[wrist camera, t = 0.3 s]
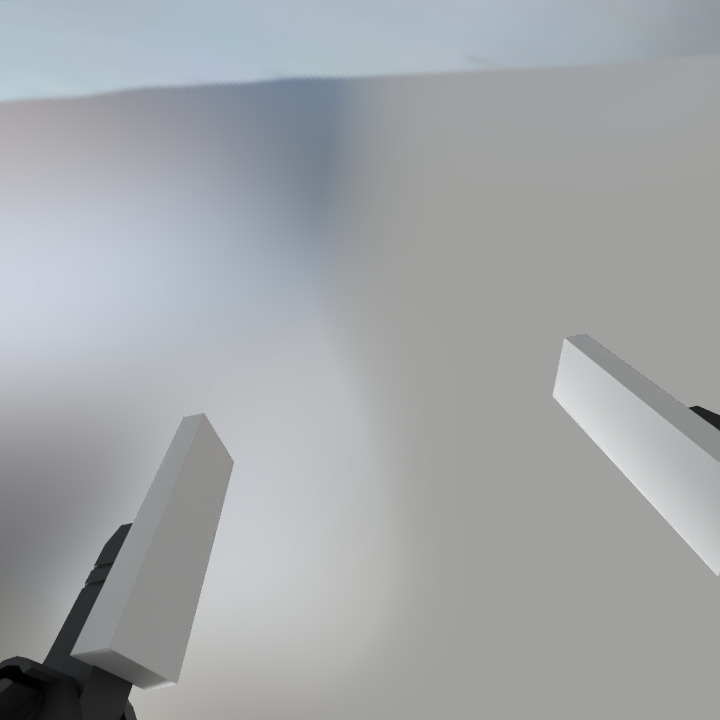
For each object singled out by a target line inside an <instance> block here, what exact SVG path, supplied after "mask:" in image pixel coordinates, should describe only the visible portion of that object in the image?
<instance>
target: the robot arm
mask: <svg viewBox="0 0 720 720" xmlns="http://www.w3.org/2000/svg"><path fill="white" fill-rule="evenodd" d="M553 397H554V398H555V399H556V400H557V401H558V402H559V403H560V404H561V406H562V407H563V408H564V409H565V410H566V411H567V412H568V413H569V414H570V415H571V416H572V418H573V419H574V420H575V421H576V422H577V423H578V424H579V425H580V426H581V427H582V429H584V431H585V432H586V433H587V434H588V435H589V436H590V437H591V438H592V439H593V440H594V442H595V443H596V444H597V445H598V446H599V447H600V448H601V449H602V450H603V451H604V453H605V454H606V455H607V456H608V457H609V458H610V459H611V460H612V461H613V462H614V463H615V465H616V466H617V467H618V468H619V469H620V470H621V471H622V472H623V473H624V474H625V476H626V477H627V478H628V479H629V480H630V481H631V482H632V483H633V484H634V485H635V486H636V488H637V489H638V490H639V491H640V492H641V493H642V494H643V495H644V496H645V497H646V499H647V500H648V501H649V502H650V503H651V504H652V505H653V506H654V507H655V508H656V509H657V511H658V512H659V513H660V514H661V515H662V516H663V517H664V518H665V519H666V520H667V521H668V522H669V524H670V525H671V526H672V527H673V528H674V529H675V530H676V531H677V532H678V533H679V534H680V536H681V537H682V538H683V539H684V540H685V541H686V542H687V543H688V544H689V546H690V547H691V548H692V549H693V550H694V551H695V552H696V553H697V554H698V555H699V556H700V558H701V559H702V560H703V561H704V562H705V563H706V564H707V565H708V566H709V567H710V568H711V569H712V570H713V572H714V573H715V574H716V575H717V576H719V575H720V415H718V414H715V413H713V412H711V411H709V410H706V409H704V408H702V407H699V406H694V407H690V408H688V407H686V406H685V405H683V404H682V403H681V402H679V401H678V400H677V399H675V398H674V397H672V396H671V395H670V394H668V393H667V392H666V391H664V390H663V389H661V388H660V387H659V386H657V385H656V384H655V383H653V382H652V381H650V380H649V379H648V378H646V377H645V376H644V375H642V374H641V373H639V372H638V371H637V370H635V369H634V368H632V367H631V366H630V365H628V364H627V363H626V362H624V361H623V360H621V359H620V358H619V357H617V356H616V355H615V354H613V353H612V352H610V351H609V350H608V349H606V348H605V347H603V346H602V345H601V344H599V343H598V342H597V341H595V340H594V339H593V338H591V337H590V336H588V335H587V334H586V333H585V334H581V335H576V336H571V337H567V338H564V342H563V347H562V352H561V357H560V362H559V367H558V372H557V377H556V382H555V387H554V392H553ZM233 464H234V461H233V459H232V458H231V456H230V455H229V453H228V451H227V450H226V448H225V446H224V445H223V443H222V441H221V440H220V438H219V437H218V435H217V433H216V432H215V430H214V428H213V427H212V425H211V423H210V422H209V420H208V418H207V417H206V415H205V414H204V413H202V414H197V415H193V416H188V417H183V420H182V421H181V424H180V426H179V428H178V430H177V432H176V434H175V436H174V438H173V440H172V442H171V445H170V447H169V449H168V451H167V453H166V455H165V457H164V459H163V461H162V463H161V465H160V468H159V470H158V472H157V474H156V476H155V478H154V480H153V482H152V484H151V487H150V488H149V491H148V493H147V495H146V497H145V499H144V501H143V503H142V505H141V507H140V510H139V512H138V514H137V516H136V518H135V520H134V522H133V523H130V524H126V525H121V526H120V528H119V529H118V530H117V531H116V532H115V534H114V535H113V536H112V537H111V538H110V540H109V541H108V542H107V543H106V544H105V546H104V548H103V550H102V552H101V553H100V555H99V557H98V559H97V561H96V563H95V565H94V570H92V571H91V573H90V575H89V577H88V579H87V580H86V582H85V588H83V589H82V590H81V592H80V594H79V596H78V598H77V600H76V602H75V603H74V605H73V607H72V609H71V611H70V613H69V615H68V617H67V619H66V621H65V623H64V625H63V627H62V629H61V631H60V632H59V634H58V636H57V638H56V640H55V642H54V644H53V646H52V648H51V650H50V651H49V653H48V655H47V657H46V659H45V661H44V662H43V664H40V663H37V662H35V661H32V660H30V659H27V658H24V657H19V656H16V657H13V658H10V659H7V660H4V661H2V662H1V663H0V720H137V719H136V715H135V712H134V709H133V706H132V705H131V703H130V702H129V700H128V696H129V694H130V691H131V688H132V685H135V686H137V687H140V688H142V689H144V690H152V689H157V688H162V687H167V686H172V685H177V683H178V679H179V675H180V671H181V667H182V664H183V660H184V656H185V651H186V648H187V644H188V640H189V636H190V632H191V628H192V624H193V621H194V617H195V613H196V609H197V604H198V601H199V597H200V593H201V589H202V585H203V581H204V577H205V574H206V570H207V566H208V562H209V557H210V554H211V550H212V546H213V542H214V538H215V534H216V530H217V526H218V523H219V519H220V515H221V511H222V507H223V503H224V499H225V495H226V491H227V487H228V483H229V479H230V476H231V472H232V468H233Z"/></svg>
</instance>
